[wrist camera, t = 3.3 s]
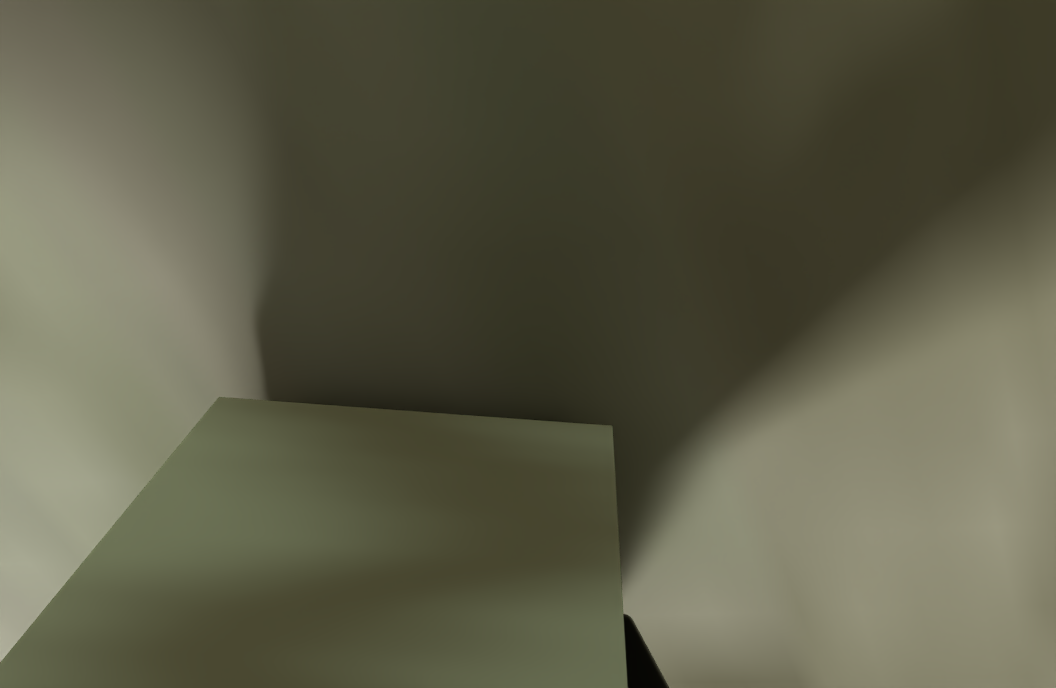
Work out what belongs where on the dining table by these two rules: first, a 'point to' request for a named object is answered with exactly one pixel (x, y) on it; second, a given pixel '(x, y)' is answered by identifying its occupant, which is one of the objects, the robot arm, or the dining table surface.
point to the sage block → (350, 559)
